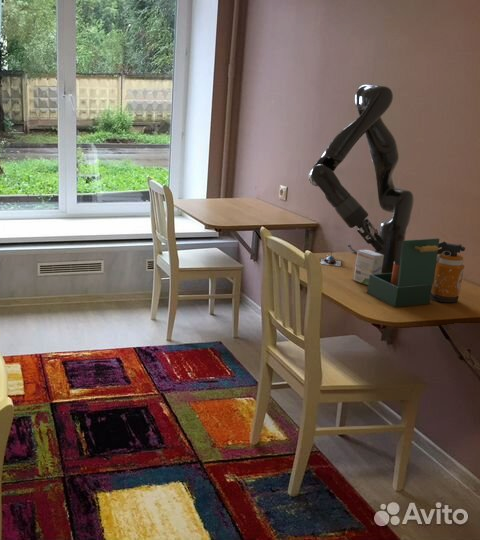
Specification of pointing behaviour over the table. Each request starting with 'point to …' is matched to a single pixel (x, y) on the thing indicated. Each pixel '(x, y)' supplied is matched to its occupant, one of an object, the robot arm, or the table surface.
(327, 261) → the bomb figurine
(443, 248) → the canister
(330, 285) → the table surface
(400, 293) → the chest
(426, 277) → the lid
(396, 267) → the jar
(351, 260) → the table surface
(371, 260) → the ink box
